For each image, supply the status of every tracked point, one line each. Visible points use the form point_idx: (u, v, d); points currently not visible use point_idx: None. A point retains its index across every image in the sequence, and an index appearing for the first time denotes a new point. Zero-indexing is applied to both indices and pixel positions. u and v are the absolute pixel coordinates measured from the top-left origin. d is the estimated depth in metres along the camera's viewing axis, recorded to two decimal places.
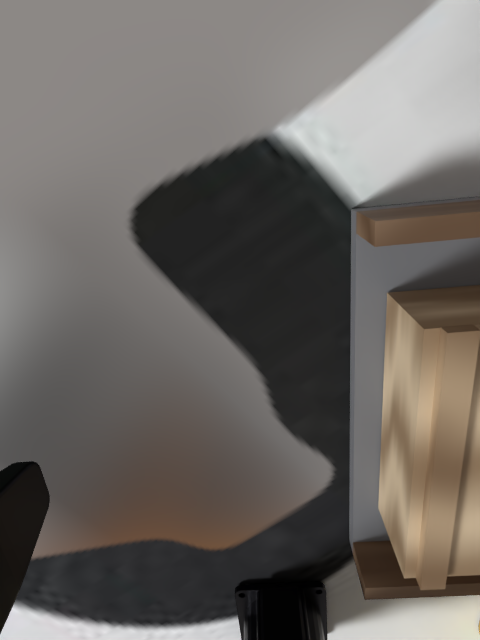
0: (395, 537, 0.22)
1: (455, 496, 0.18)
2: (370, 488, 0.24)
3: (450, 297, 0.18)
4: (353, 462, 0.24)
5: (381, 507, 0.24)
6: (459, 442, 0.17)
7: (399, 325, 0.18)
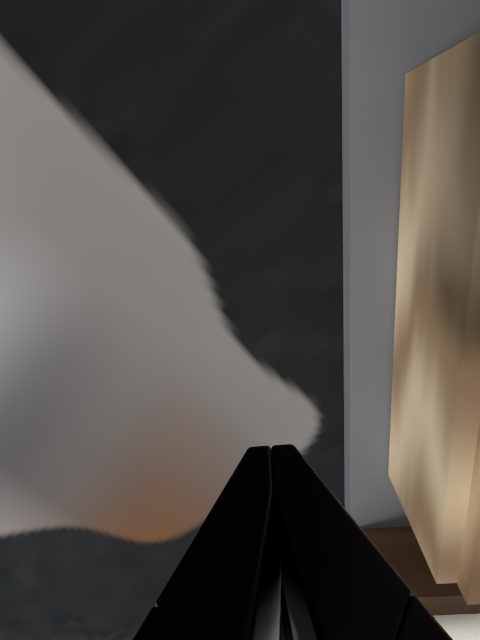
0: (419, 514, 0.13)
1: None
2: (376, 443, 0.16)
3: None
4: (349, 400, 0.15)
5: (393, 472, 0.15)
6: None
7: (431, 103, 0.10)
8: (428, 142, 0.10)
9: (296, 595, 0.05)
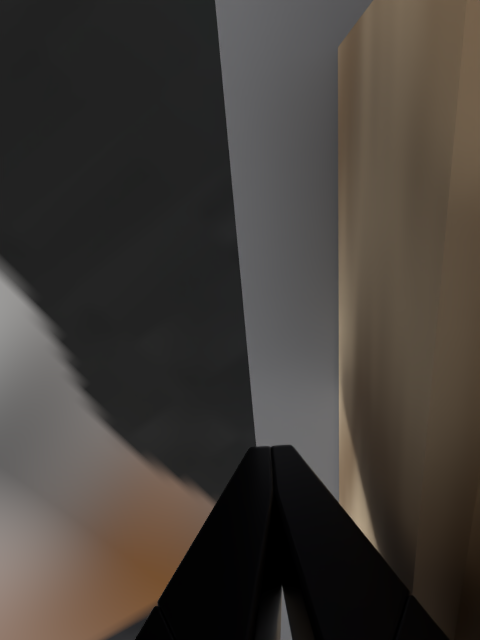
0: None
1: None
2: None
3: None
4: None
5: None
6: None
7: (366, 91, 0.05)
8: (364, 161, 0.06)
9: (294, 595, 0.05)
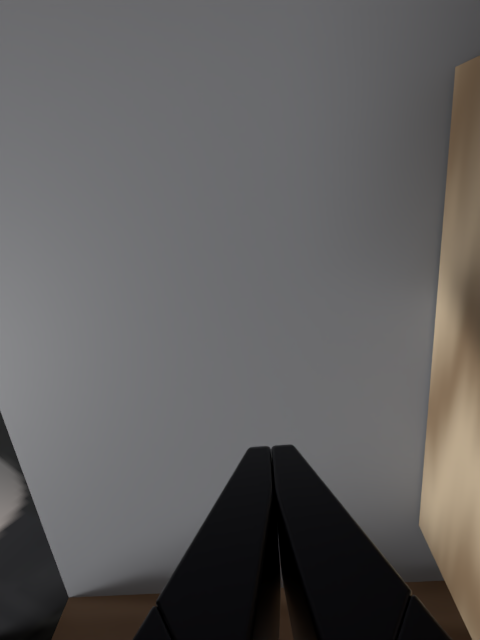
0: (464, 587, 0.11)
1: None
2: (65, 511, 0.14)
3: None
4: (23, 466, 0.14)
5: (426, 525, 0.13)
6: None
7: None
8: None
9: (296, 595, 0.05)
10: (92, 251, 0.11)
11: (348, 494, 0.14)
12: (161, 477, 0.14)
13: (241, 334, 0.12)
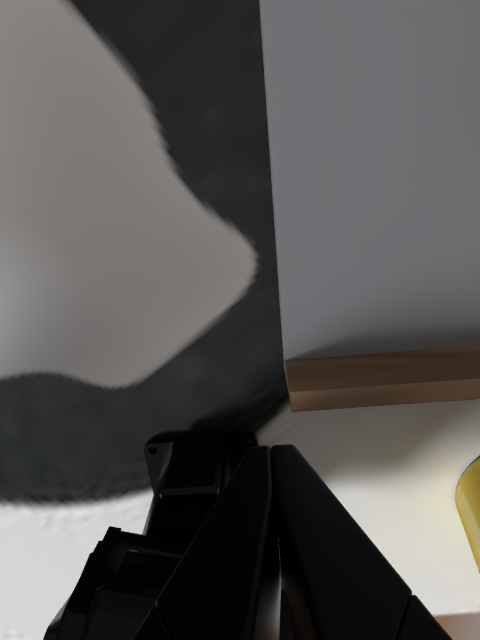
0: None
1: None
2: (301, 271, 0.18)
3: None
4: (276, 230, 0.18)
5: None
6: None
7: None
8: None
9: (296, 595, 0.05)
10: (375, 26, 0.15)
11: None
12: (384, 236, 0.18)
13: (472, 99, 0.16)
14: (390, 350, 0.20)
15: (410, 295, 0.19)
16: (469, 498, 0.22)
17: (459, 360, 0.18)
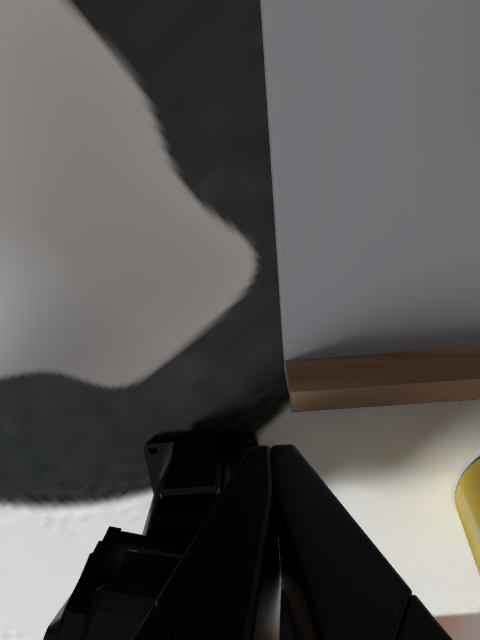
0: None
1: None
2: (301, 271, 0.18)
3: None
4: (276, 230, 0.18)
5: None
6: None
7: None
8: None
9: (296, 595, 0.05)
10: (376, 27, 0.15)
11: None
12: (384, 237, 0.18)
13: (472, 100, 0.16)
14: (390, 350, 0.20)
15: (410, 296, 0.19)
16: (469, 498, 0.22)
17: (459, 361, 0.18)
